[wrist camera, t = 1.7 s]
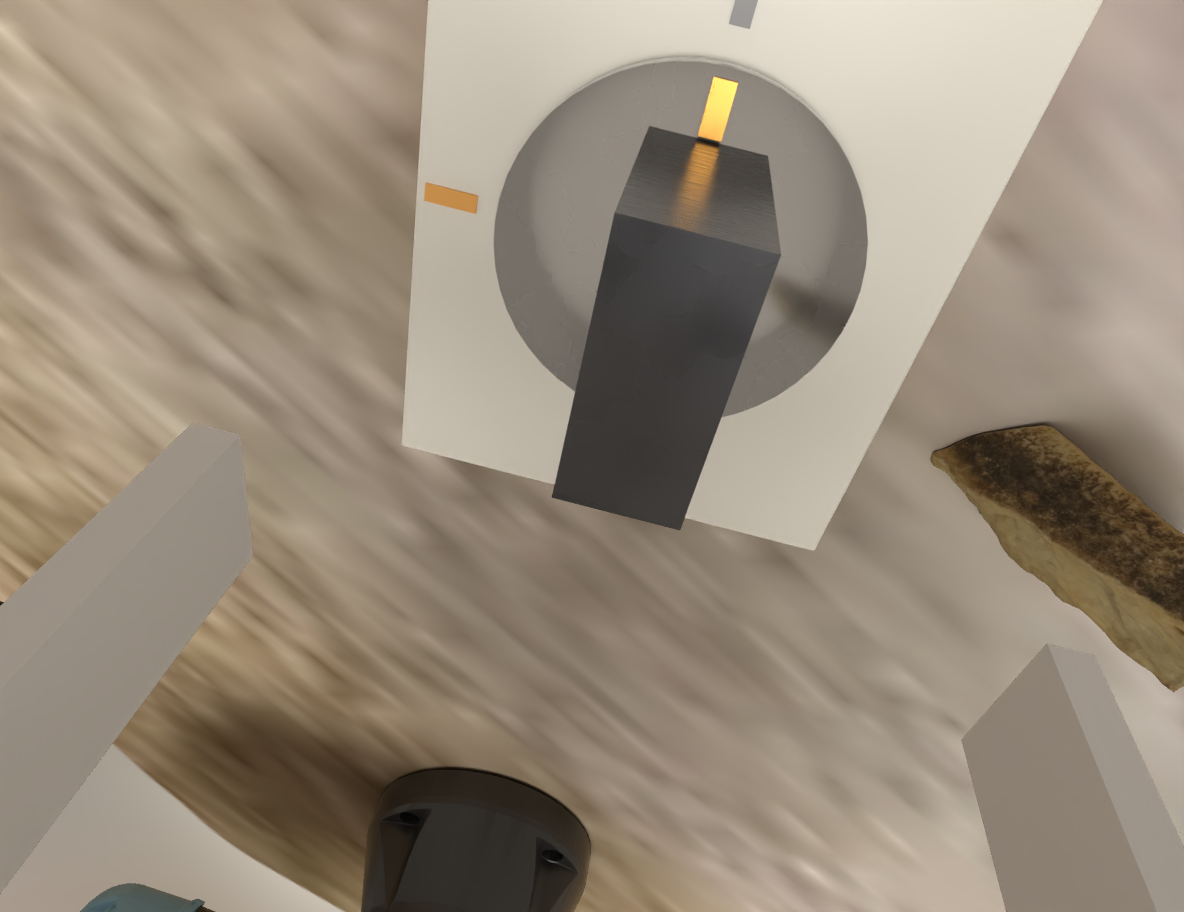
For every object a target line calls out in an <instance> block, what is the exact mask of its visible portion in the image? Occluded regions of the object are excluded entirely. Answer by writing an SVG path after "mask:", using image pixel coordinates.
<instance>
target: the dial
mask: <svg viewBox="0 0 1184 912" xmlns="http://www.w3.org/2000/svg"><path fill="white" fill-rule="evenodd" d="M493 245H494V259H495V269H496V274H497V279H498V284H499V288H500V292H501V295H502V297H503V300H504V303H505V306H506V309H507V311H508V313H509V315H510V318H511V320H512V322H513V324H514V326H515V328H516V330H517V331H518V333H519V334H520V336H521V337H522V339H523V340H524V342H525V344H526V345H527V347H528V348H529V349H530V350H531V352H532V353H533V354H534V355H535V356H536V358H537V359H538V360H539V361H540V362H541V364H542V365H544V366H545V367H546V368H547V369H548V370H549V371H550V372H551V373H552V374H553V375H554V376H555V377H556V378H557V379H559V380H560V381H561V382H563V383H564V384H565V385H567V386H568V387H569V388H571V389H572V390H573V391H575V394H574V399H573V404H572V408H571V413H570V417H569V422H568V426H567V431H566V435H565V440H564V444H563V449H562V453H561V458H560V463H559V467H558V472H557V476H556V481H555V485H554V490H553V494H552V498H556V499H560V500H564V501H568V502H572V503H575V504H579V505H583V506H587V507H591V508H595V509H599V510H603V511H607V512H611V513H615V514H618V515H622V516H626V517H630V518H634V519H638V520H642V521H646V522H650V523H654V524H658V525H661V526H665V527H669V528H673V529H677V530H680V529H681V526H682V524H683V521H684V518H685V515H686V513H687V510H688V507H689V504H690V502H691V499H692V496H693V494H694V491H695V488H696V485H697V483H698V480H699V477H700V475H701V472H702V469H703V466H704V464H705V461H706V458H707V455H708V453H709V450H710V447H711V445H712V442H713V439H714V436H715V434H716V431H717V428H718V426H719V423H720V420H721V417H725V416H729V415H733V414H737V413H740V412H743V411H745V410H748V409H751V408H753V407H756V406H758V405H760V404H762V403H764V402H766V401H768V400H770V399H772V398H774V397H776V396H778V395H779V394H781V393H782V392H784V391H785V390H787V389H788V388H790V387H791V386H793V385H794V384H796V383H797V382H798V381H799V380H800V379H801V378H803V377H804V376H805V375H806V374H807V373H808V372H810V371H811V370H812V369H813V368H814V367H815V366H816V365H817V364H818V363H819V361H820V360H821V359H822V358H823V357H824V356H825V355H826V354H827V353H828V352H829V350H830V349H831V347H832V346H833V344H834V343H835V342H836V340H837V339H838V337H839V336H840V335H841V333H842V331H843V329H844V327H845V326H846V324H847V322H848V320H849V318H850V316H851V314H852V312H853V310H854V307H855V304H856V301H857V299H858V296H859V293H860V291H861V287H862V282H863V278H864V273H865V269H866V260H867V247H868V236H867V220H866V213H865V208H864V204H863V199H862V194H861V191H860V188H859V185H858V183H857V180H856V177H855V174H854V172H853V169H852V167H851V164H850V162H849V160H848V158H847V156H846V154H845V153H844V151H843V149H842V147H841V145H840V143H839V142H838V140H837V138H836V136H835V135H834V134H833V132H832V131H831V130H830V128H829V127H828V126H827V124H826V123H825V122H824V121H823V119H822V118H821V117H820V115H818V114H817V113H816V112H815V111H814V110H813V109H812V108H811V107H810V106H809V105H808V104H807V103H806V102H805V101H804V100H803V99H802V98H801V97H799V96H798V95H797V94H795V93H794V92H792V91H791V90H790V89H788V88H787V87H785V86H784V85H783V84H781V83H780V82H778V81H776V80H774V79H772V78H770V77H768V76H766V75H764V74H762V73H760V72H758V71H756V70H754V69H751V68H748V67H745V66H742V65H739V64H736V63H733V62H730V61H725V60H719V59H713V58H708V57H697V56H671V57H662V58H654V59H647V60H644V61H640V62H636V63H632V64H629V65H625V66H622V67H620V68H617V69H615V70H613V71H610V72H608V73H606V74H603V75H601V76H599V77H597V78H595V79H594V80H592V81H590V82H589V83H587V84H585V85H584V86H582V87H581V88H579V89H577V90H576V91H575V92H573V93H572V94H571V95H570V96H568V97H567V98H566V99H565V100H564V101H562V102H561V103H560V104H559V105H558V106H556V107H555V108H554V110H553V111H552V112H551V113H550V114H549V115H548V116H547V117H546V118H545V119H544V120H543V122H542V123H541V124H540V125H539V126H538V127H537V128H536V129H535V130H534V131H533V132H532V134H531V135H530V137H529V138H528V140H527V141H526V143H525V144H524V146H523V147H522V148H521V150H520V151H519V153H518V155H517V157H516V159H515V161H514V163H513V165H512V167H511V169H510V171H509V173H508V175H507V177H506V180H505V183H504V186H503V189H502V192H501V195H500V198H499V202H498V208H497V213H496V218H495V227H494V244H493Z"/></svg>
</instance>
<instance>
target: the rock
mask: <svg viewBox="0 0 1184 912" xmlns="http://www.w3.org/2000/svg"><path fill="white" fill-rule="evenodd" d="M931 462H932V463H933V465H934V466H936V467H938V468H940V469H941V470H943V471H945V472H946V473H947V474H948V475H949V476H950V477H951V478H952V480H953V481H954V482H955V483H956V484H957V485H958V486H959V487H960V488H961V489H962V490H963V491H964V492H965V494H966V496H967V497H968V499H969V500H970V501H971V502H972V503H973V504H974V505H975V506H976V507H978V508H979V509H980V511H979V513H980V514H982V516H983V518H984V519H985V520H986V521H987V522H988V523H989V525H990V526H991V528H992V529H993V531H994V532H995V534H996V535H997V537H998V539H999V541H1000V544H1001V546H1002V547H1003V549H1004V550H1005V552H1006V553H1007V554H1008V556H1009V557H1010V558H1012V559H1013V560H1014V561H1015V562H1016V563H1017V564H1018V565H1019V566H1020V567H1021V568H1023V569H1024V570H1025V571H1027V572H1029V573H1031V574H1033V575H1035V576H1036V577H1037V578H1038V579H1039V580H1041V581H1043V582H1044V583H1045V584H1047V585H1048V586H1049V587H1050V588H1051V590H1052V591H1053V592H1054V594H1055V595H1056V596H1057V597H1058V598H1060V599H1061V600H1062V601H1063V602H1065V603H1068V604H1070V605H1072V606H1074V607H1076V608H1078V609H1080V610H1082V611H1083V612H1084V613H1085V614H1086V615H1087V616H1089V617H1090V618H1091V619H1092V620H1093V621H1094V622H1095V623H1096V624H1097V625H1098V626H1099V627H1100V628H1101V629H1102V630H1103V631H1104V632H1105V634H1106V635H1107V636H1108V637H1109V638H1110V640H1111V641H1112V642H1113V643H1114V644H1115V645H1116V646H1117V647H1118V648H1119V649H1120V650H1121V651H1123V652H1124V653H1125V654H1126V655H1128V656H1129V657H1130V658H1132V659H1133V660H1134V661H1136V662H1137V663H1139V664H1140V665H1141V666H1143V667H1144V668H1146V669H1148V670H1149V671H1151V672H1152V673H1153V674H1154V675H1155V676H1156V677H1157V678H1158V680H1159V681H1160V682H1161V683H1162V684H1163V685H1164V686H1166V687H1167V688H1168V689H1170V690H1172V691H1173V692H1175V691H1176V690H1177V689H1179V688H1181V687H1183V686H1184V534H1182V533H1181V532H1179V531H1178V530H1176V529H1175V528H1173V527H1172V526H1171V525H1170V524H1168V523H1167V522H1166V521H1164V520H1163V519H1161V518H1160V516H1159V515H1158V514H1157V513H1156V512H1154V511H1152V510H1150V509H1149V508H1148V507H1147V506H1146V505H1145V504H1144V503H1143V502H1142V501H1141V499H1140V498H1139V497H1138V496H1136V495H1135V494H1133V493H1130V492H1129V491H1128V490H1127V489H1125V488H1124V487H1123V486H1122V485H1121V484H1120V483H1119V482H1118V481H1117V480H1116V479H1115V478H1114V477H1112V476H1111V475H1110V474H1109V473H1108V472H1107V471H1105V470H1104V469H1102V468H1101V467H1100V466H1098V465H1097V464H1096V463H1094V462H1092V461H1091V460H1090V459H1089V457H1088V456H1087V455H1086V454H1085V453H1084V452H1082V451H1081V450H1080V449H1079V448H1078V447H1077V446H1076V445H1074V444H1073V443H1072V442H1071V441H1069V440H1068V439H1067V438H1065V437H1064V436H1063V435H1062V434H1061V433H1059V432H1058V431H1057V430H1056V429H1055V428H1053V427H1051V426H1046V425H1041V426H1034V427H1022V428H1016V429H1008V430H1004V431H996V432H989V433H984V434H980V435H976V436H973V437H970V438H967V439H965V440H962V441H960V442H958V443H956V444H954V445H952V446H950V447H949V448H945V449H942V450H938V451H935V452H934V453H933V455H932V458H931Z"/></svg>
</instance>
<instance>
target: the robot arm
mask: <svg viewBox="0 0 1184 912" xmlns="http://www.w3.org/2000/svg"><path fill="white" fill-rule="evenodd" d="M252 556H253V551H252V541H251V532H250V523H249V513H248V504H247V495H246V486H245V476H244V467H243V458H242V449H241V439H240V434H236V433H233V432H229V431H225V430H221V429H217V428H213V427H209V426H206V425H202V424H198V423H194V422H193V423H192V424H191V425H190V426H189V427H188V428H187V429H186V430H185V431H184V432H183V433H182V434H181V435H180V436H178V437H177V438H176V439H175V440H174V441H173V442H172V443H171V444H170V445H169V446H168V447H167V448H166V449H165V450H164V451H163V452H162V453H161V454H160V455H159V456H157V457H156V458H155V459H154V460H153V461H152V462H151V463H150V464H149V465H148V466H147V467H146V468H145V469H144V470H143V471H142V472H141V473H140V474H139V475H138V476H136V477H135V478H134V479H133V480H132V481H131V482H130V483H129V484H128V485H127V486H126V487H125V488H124V489H123V490H122V491H121V492H120V493H119V494H118V495H117V496H115V497H114V498H113V499H112V500H111V501H110V502H109V503H108V504H107V505H106V506H105V507H104V508H103V509H102V510H101V511H100V512H99V513H98V514H97V515H96V516H94V517H93V518H92V519H91V520H90V521H89V522H88V523H87V524H86V525H85V526H84V527H83V528H82V529H81V530H80V531H79V532H78V533H77V534H76V535H75V536H73V537H72V538H71V539H70V540H69V541H68V542H67V543H66V544H65V545H64V546H63V547H62V548H61V549H60V550H59V551H58V552H57V553H56V554H55V555H54V556H52V557H51V558H50V559H49V560H48V561H47V562H46V563H45V564H44V565H43V566H42V567H41V568H40V569H39V570H38V571H37V572H36V573H35V574H34V575H33V576H31V577H30V578H29V579H28V580H27V581H26V582H25V583H24V584H23V585H22V586H21V587H20V588H19V589H18V590H17V591H16V592H15V593H14V594H13V595H12V596H10V597H9V598H8V599H7V600H6V601H5V602H1V601H0V894H1V892H2V891H3V890H4V888H5V887H6V886H7V884H8V883H9V881H10V880H11V879H12V878H13V876H14V875H15V874H16V872H17V871H18V870H19V868H20V867H21V866H22V864H23V863H24V862H25V860H26V859H27V858H28V856H29V855H30V854H31V852H32V851H33V850H34V848H35V847H36V845H37V844H38V843H39V842H40V840H41V839H42V838H43V836H44V835H45V833H46V832H47V831H48V829H49V828H50V827H51V825H52V824H53V823H54V821H55V820H56V819H57V817H58V816H59V815H60V813H61V812H62V811H63V809H64V808H65V807H66V805H67V804H68V803H69V801H70V800H71V798H72V797H73V796H74V795H75V793H76V792H77V791H78V789H79V788H80V787H81V785H82V784H83V783H84V781H85V780H86V778H87V777H88V776H89V775H90V773H91V772H92V770H93V769H94V768H95V766H96V765H97V764H98V762H99V761H100V760H101V758H102V757H103V756H104V754H105V753H106V752H107V750H108V749H109V748H110V746H111V745H112V744H113V742H114V741H115V740H116V738H117V737H118V736H119V734H120V733H121V732H122V730H123V729H124V728H125V726H126V725H127V724H128V722H129V721H130V720H131V718H132V717H133V716H134V714H135V713H136V712H137V710H138V709H139V707H140V706H141V705H142V703H143V702H144V701H145V699H146V698H147V697H148V695H149V694H150V693H151V691H152V690H153V689H154V687H155V686H156V685H157V683H158V682H159V681H160V679H161V678H162V677H163V675H164V674H165V673H166V671H167V670H168V669H169V667H170V666H171V665H172V663H173V662H174V661H175V659H176V658H177V657H178V655H179V654H180V653H181V651H182V650H183V649H184V647H185V646H186V645H187V643H188V642H189V640H190V639H191V638H192V636H193V635H194V634H195V632H196V631H197V630H198V628H199V627H200V626H201V624H202V623H203V622H204V620H205V619H206V618H207V616H208V615H209V614H210V612H211V611H212V610H213V608H214V607H215V606H216V604H217V603H218V602H219V600H220V599H221V598H222V596H223V595H224V594H225V592H226V591H227V590H228V588H229V587H230V586H231V584H232V583H233V582H234V580H235V579H236V577H237V576H238V575H239V573H240V572H241V571H242V569H243V568H244V567H245V565H246V564H247V563H248V561H249V560H250V559H251V557H252ZM962 744H963V748H964V752H965V755H966V759H967V763H968V767H969V771H970V775H971V778H972V782H973V786H974V790H975V794H976V798H977V801H978V805H979V809H980V813H981V817H982V821H983V824H984V828H985V832H986V836H987V840H988V843H989V847H990V851H991V855H992V859H993V863H994V866H995V870H996V874H997V878H998V882H999V886H1000V889H1001V893H1002V897H1003V901H1004V905H1005V909H1006V912H1184V846H1183V844H1182V842H1181V840H1180V838H1179V835H1178V833H1177V831H1176V829H1175V827H1174V825H1173V823H1172V820H1171V818H1170V816H1169V814H1168V812H1167V810H1166V808H1165V805H1164V803H1163V801H1162V799H1161V797H1160V795H1159V793H1158V790H1157V788H1156V786H1155V784H1154V782H1153V780H1152V778H1151V775H1150V773H1149V771H1148V769H1147V767H1146V765H1145V763H1144V760H1143V758H1142V756H1141V754H1140V752H1139V750H1138V748H1137V745H1136V743H1135V741H1134V739H1133V737H1132V735H1131V733H1130V730H1129V728H1128V726H1127V724H1126V722H1125V720H1124V718H1123V715H1122V713H1121V711H1120V709H1119V707H1118V705H1117V702H1116V700H1115V698H1114V696H1113V694H1112V692H1111V690H1110V687H1109V685H1108V683H1107V681H1106V679H1105V677H1104V675H1103V672H1102V670H1101V668H1100V666H1099V664H1098V662H1097V660H1096V657H1095V656H1094V655H1090V654H1087V653H1083V652H1079V651H1075V650H1071V649H1067V648H1063V647H1059V646H1056V645H1052V644H1048V643H1047V644H1046V645H1045V646H1044V647H1043V648H1042V650H1041V651H1040V652H1039V653H1038V654H1037V655H1036V656H1035V657H1034V659H1033V660H1032V661H1031V662H1030V663H1029V664H1028V665H1027V666H1026V668H1025V669H1024V670H1023V671H1022V672H1021V673H1020V674H1019V675H1018V677H1017V678H1016V679H1015V680H1014V681H1013V682H1012V683H1011V684H1010V686H1009V687H1008V688H1007V689H1006V690H1005V691H1004V692H1003V693H1002V695H1001V696H1000V697H999V698H998V699H997V700H996V701H995V702H994V704H993V705H992V706H991V707H990V708H989V709H988V710H987V711H986V713H985V714H984V715H983V716H982V717H981V718H980V719H979V720H978V722H977V723H976V724H975V725H974V726H973V727H972V728H971V729H970V731H969V732H968V733H967V734H966V735H965V736H964V737H963V738H962ZM590 854H591V847H590V842H589V839H588V836H587V834H586V832H585V830H584V829H583V827H582V826H581V824H580V823H579V822H578V821H577V820H576V819H575V817H574V816H573V815H571V814H570V813H569V812H568V811H567V810H566V809H565V808H563V807H562V806H561V805H559V804H558V803H556V802H555V801H553V800H552V799H550V798H549V797H547V796H545V795H543V794H541V793H539V792H538V791H536V790H533V789H531V788H529V787H527V786H524V785H522V784H519V783H517V782H514V781H511V780H508V779H505V778H501V777H497V776H493V775H489V774H484V773H479V772H472V771H464V770H431V771H424V772H419V773H415V774H411V775H408V776H405V777H403V778H401V779H399V780H397V781H395V782H394V783H392V784H391V785H390V786H389V787H387V788H386V790H385V791H384V792H383V794H382V795H381V798H380V800H379V802H378V805H377V808H376V810H375V813H374V815H373V818H372V820H371V823H370V826H369V830H368V834H367V845H366V857H365V870H364V883H363V895H362V908H361V912H574V910H575V908H576V906H577V904H578V902H579V900H580V898H581V896H582V894H583V891H584V888H585V885H586V879H587V873H588V867H589V860H590ZM204 903H205V902H204V901H202V900H200V899H195V900H192V901H190V900H186V899H183V898H181V897H178V896H175V895H172V894H169V893H166V892H163V891H160V890H157V889H154V888H150V887H147V886H145V885H141V884H130V883H129V884H122V885H118V886H115V887H112V888H110V889H108V890H106V891H104V892H102V893H101V894H99V895H98V896H97V897H96V898H94V899H93V900H92V901H90V902H89V903H88V904H87V905H86V906H85V907H84V908H83V909H82V910H81V911H80V912H214V911H212V910H210V909H207V908H205V907H203V905H204Z"/></svg>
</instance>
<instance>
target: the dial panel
mask: <svg viewBox="0 0 1184 912" xmlns="http://www.w3.org/2000/svg"><path fill="white" fill-rule="evenodd" d="M1102 1H1103V0H428V14H427V30H426V47H425V64H424V81H423V97H422V114H421V131H420V148H419V164H418V181H417V198H416V215H415V232H414V248H413V265H412V282H411V299H410V315H409V332H408V349H407V366H406V382H405V399H404V416H403V433H402V446H405V447H409V448H413V449H417V450H421V451H425V452H429V453H433V454H437V455H441V456H444V457H448V458H452V459H456V460H460V461H464V462H468V463H472V464H476V465H480V466H483V467H487V468H491V469H495V470H499V471H503V472H507V473H511V474H515V475H519V476H523V477H526V478H530V479H534V480H538V481H542V482H546V483H550V484H554V485H555V481H556V476H557V472H558V467H559V463H560V458H561V453H562V449H563V444H564V440H565V435H566V431H567V426H568V422H569V417H570V413H571V408H572V404H573V399H574V394H575V391H573V390H572V389H571V388H569V387H568V386H567V385H565V384H564V383H563V382H561V381H560V380H559V379H557V378H556V377H555V376H554V375H553V374H552V373H551V372H550V371H549V370H548V369H547V368H546V367H545V366H544V365H542V364H541V362H540V361H539V360H538V359H537V358H536V356H535V355H534V354H533V353H532V352H531V350H530V349H529V348H528V347H527V345H526V344H525V342H524V340H523V339H522V337H521V336H520V334H519V333H518V331H517V330H516V328H515V326H514V324H513V322H512V320H511V318H510V315H509V313H508V311H507V309H506V306H505V303H504V300H503V297H502V295H501V292H500V288H499V284H498V279H497V274H496V269H495V259H494V245H493V244H494V227H495V218H496V213H497V208H498V202H499V198H500V195H501V192H502V189H503V186H504V183H505V180H506V177H507V175H508V173H509V171H510V169H511V167H512V165H513V163H514V161H515V159H516V157H517V155H518V153H519V151H520V150H521V148H522V147H523V146H524V144H525V143H526V141H527V140H528V138H529V137H530V135H531V134H532V132H533V131H534V130H535V129H536V128H537V127H538V126H539V125H540V124H541V123H542V122H543V120H544V119H545V118H546V117H547V116H548V115H549V114H550V113H551V112H552V111H553V110H554V108H555V107H556V106H558V105H559V104H560V103H561V102H562V101H564V100H565V99H566V98H567V97H568V96H570V95H571V94H572V93H573V92H575V91H576V90H577V89H579V88H581V87H582V86H584V85H585V84H587V83H589V82H590V81H592V80H594V79H595V78H597V77H599V76H601V75H603V74H606V73H608V72H610V71H613V70H615V69H617V68H620V67H622V66H625V65H629V64H632V63H636V62H640V61H644V60H647V59H654V58H662V57H671V56H697V57H708V58H713V59H719V60H725V61H730V62H733V63H736V64H739V65H742V66H745V67H748V68H751V69H754V70H756V71H758V72H760V73H762V74H764V75H766V76H768V77H770V78H772V79H774V80H776V81H778V82H780V83H781V84H783V85H784V86H785V87H787V88H788V89H790V90H791V91H792V92H794V93H795V94H797V95H798V96H799V97H801V98H802V99H803V100H804V101H805V102H806V103H807V104H808V105H809V106H810V107H811V108H812V109H813V110H814V111H815V112H816V113H817V114H818V115H820V117H821V118H822V119H823V121H824V122H825V123H826V124H827V126H828V127H829V128H830V130H831V131H832V132H833V134H834V135H835V136H836V138H837V140H838V142H839V143H840V145H841V147H842V149H843V151H844V153H845V154H846V156H847V158H848V160H849V162H850V164H851V167H852V169H853V172H854V174H855V177H856V180H857V183H858V185H859V188H860V191H861V194H862V199H863V204H864V208H865V213H866V220H867V236H868V247H867V260H866V269H865V273H864V278H863V282H862V287H861V291H860V293H859V296H858V299H857V301H856V304H855V307H854V310H853V312H852V314H851V316H850V318H849V320H848V322H847V324H846V326H845V327H844V329H843V331H842V333H841V335H840V336H839V337H838V339H837V340H836V342H835V343H834V344H833V346H832V347H831V349H830V350H829V352H828V353H827V354H826V355H825V356H824V357H823V358H822V359H821V360H820V361H819V363H818V364H817V365H816V366H815V367H814V368H813V369H812V370H811V371H810V372H808V373H807V374H806V375H805V376H804V377H803V378H801V379H800V380H799V381H798V382H797V383H796V384H794V385H793V386H791V387H790V388H788V389H787V390H785V391H784V392H782V393H781V394H779V395H778V396H776V397H774V398H772V399H770V400H768V401H766V402H764V403H762V404H760V405H758V406H756V407H753V408H751V409H748V410H745V411H743V412H740V413H737V414H733V415H729V416H725V417H721V420H720V423H719V426H718V428H717V431H716V434H715V436H714V439H713V442H712V445H711V447H710V450H709V453H708V455H707V458H706V461H705V464H704V466H703V469H702V472H701V475H700V477H699V480H698V483H697V485H696V488H695V491H694V494H693V496H692V499H691V502H690V504H689V507H688V510H687V513H686V515H685V518H687V519H691V520H694V521H698V522H702V523H706V524H710V525H714V526H718V527H722V528H726V529H730V530H734V531H737V532H741V533H745V534H749V535H753V536H757V537H761V538H765V539H769V540H773V541H777V542H780V543H784V544H788V545H792V546H796V547H800V548H804V549H808V550H812V551H814V550H815V548H816V546H817V545H818V543H819V541H820V539H821V537H822V535H823V533H824V531H825V529H826V527H827V525H828V524H829V522H830V520H831V518H832V516H833V514H834V512H835V510H836V508H837V506H838V505H839V503H840V501H841V499H842V497H843V495H844V493H845V491H846V489H847V487H848V485H849V484H850V482H851V480H852V478H853V476H854V474H855V472H856V470H857V468H858V466H859V464H860V463H861V461H862V459H863V457H864V455H865V453H866V451H867V449H868V447H869V445H870V444H871V442H872V440H873V438H874V436H875V434H876V432H877V430H878V428H879V426H880V424H881V423H882V421H883V419H884V417H885V415H886V413H887V411H888V409H889V407H890V405H891V403H892V402H893V400H894V398H895V396H896V394H897V392H898V390H899V388H900V386H901V384H902V383H903V381H904V379H905V377H906V375H907V373H908V371H909V369H910V367H911V365H912V363H913V362H914V360H915V358H916V356H917V354H918V352H919V350H920V348H921V346H922V344H923V343H924V341H925V339H926V337H927V335H928V333H929V331H930V329H931V327H932V325H933V323H934V322H935V320H936V318H937V316H938V314H939V312H940V310H941V308H942V306H943V304H944V302H945V301H946V299H947V297H948V295H949V293H950V291H951V289H952V287H953V285H954V283H955V282H956V280H957V278H958V276H959V274H960V272H961V270H962V268H963V266H964V264H965V262H966V261H967V259H968V257H969V255H970V253H971V251H972V249H973V247H974V245H975V243H976V241H977V240H978V238H979V236H980V234H981V232H982V230H983V228H984V226H985V224H986V222H987V221H988V219H989V217H990V215H991V213H992V211H993V209H994V207H995V205H996V203H997V201H998V200H999V198H1000V196H1001V194H1002V192H1003V190H1004V188H1005V186H1006V184H1007V182H1008V180H1009V179H1010V177H1011V175H1012V173H1013V171H1014V169H1015V167H1016V165H1017V163H1018V161H1019V160H1020V158H1021V156H1022V154H1023V152H1024V150H1025V148H1026V146H1027V144H1028V142H1029V140H1030V139H1031V137H1032V135H1033V133H1034V131H1035V129H1036V127H1037V125H1038V123H1039V121H1040V119H1041V118H1042V116H1043V114H1044V112H1045V110H1046V108H1047V106H1048V104H1049V102H1050V100H1051V99H1052V97H1053V95H1054V93H1055V91H1056V89H1057V87H1058V85H1059V83H1060V81H1061V79H1062V78H1063V76H1064V74H1065V72H1066V70H1067V68H1068V66H1069V64H1070V62H1071V60H1072V59H1073V57H1074V55H1075V53H1076V51H1077V49H1078V47H1079V45H1080V43H1081V41H1082V39H1083V38H1084V36H1085V34H1086V32H1087V30H1088V28H1089V26H1090V24H1091V22H1092V20H1093V18H1094V17H1095V15H1096V13H1097V11H1098V9H1099V7H1100V5H1101V3H1102Z"/></svg>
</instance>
